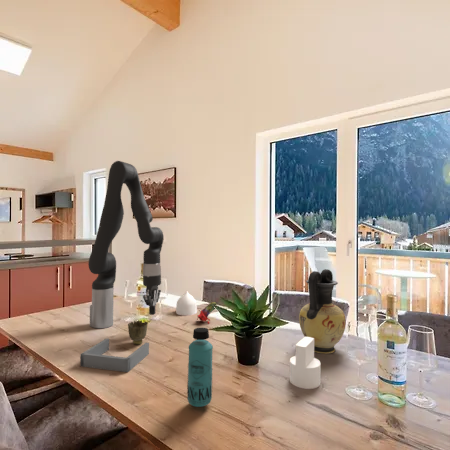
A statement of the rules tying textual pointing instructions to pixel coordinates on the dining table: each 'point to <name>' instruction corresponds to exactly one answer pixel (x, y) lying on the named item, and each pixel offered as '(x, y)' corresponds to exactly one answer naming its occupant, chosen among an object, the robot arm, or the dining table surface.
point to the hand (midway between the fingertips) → (152, 314)
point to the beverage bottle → (200, 369)
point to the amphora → (322, 313)
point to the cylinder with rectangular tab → (305, 365)
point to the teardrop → (186, 305)
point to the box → (111, 358)
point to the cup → (137, 331)
